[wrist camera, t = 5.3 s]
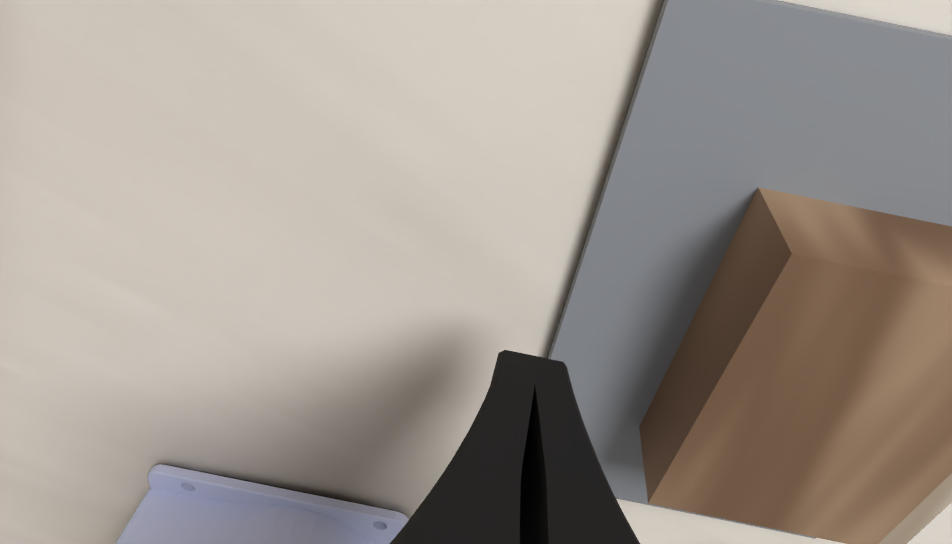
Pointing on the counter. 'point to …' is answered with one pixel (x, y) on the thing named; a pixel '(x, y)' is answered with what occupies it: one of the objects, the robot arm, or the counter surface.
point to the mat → (738, 179)
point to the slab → (813, 378)
